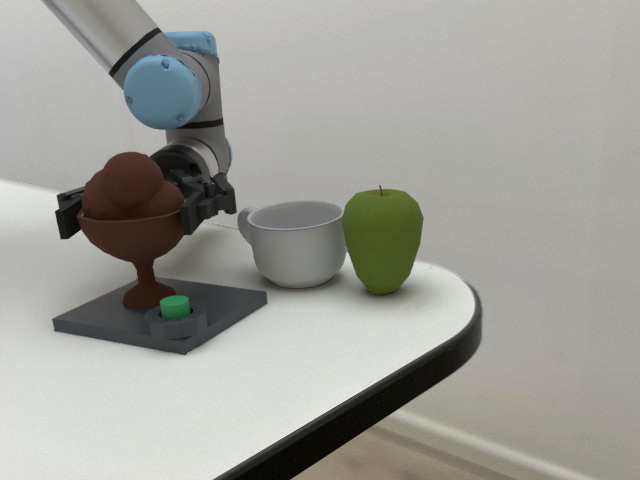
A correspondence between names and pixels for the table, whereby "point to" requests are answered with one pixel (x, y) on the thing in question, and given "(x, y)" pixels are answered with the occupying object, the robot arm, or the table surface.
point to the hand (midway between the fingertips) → (123, 223)
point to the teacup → (295, 240)
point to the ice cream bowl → (133, 220)
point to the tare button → (175, 307)
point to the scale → (147, 323)
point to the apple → (382, 237)
